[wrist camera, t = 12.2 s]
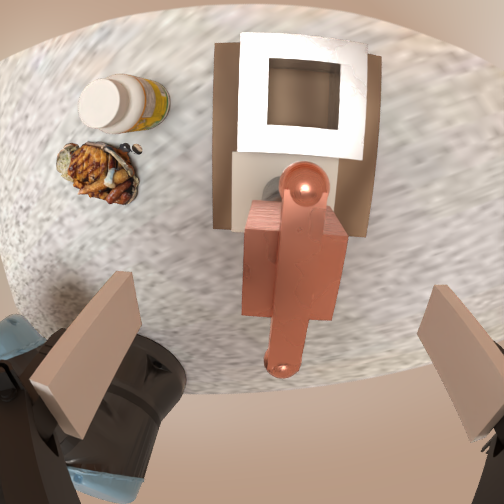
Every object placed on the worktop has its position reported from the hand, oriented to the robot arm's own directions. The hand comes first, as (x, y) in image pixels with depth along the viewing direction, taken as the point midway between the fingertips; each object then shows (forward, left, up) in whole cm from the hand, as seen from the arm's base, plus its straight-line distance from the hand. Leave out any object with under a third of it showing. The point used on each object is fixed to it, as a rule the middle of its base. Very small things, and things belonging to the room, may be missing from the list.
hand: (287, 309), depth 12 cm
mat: (0, 0, -19) cm, 19 cm away
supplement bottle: (-14, +9, -20) cm, 26 cm away
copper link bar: (0, 0, -18) cm, 18 cm away
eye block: (+1, +10, -19) cm, 21 cm away
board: (+1, +6, -20) cm, 21 cm away
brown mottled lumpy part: (-21, +2, -20) cm, 29 cm away
